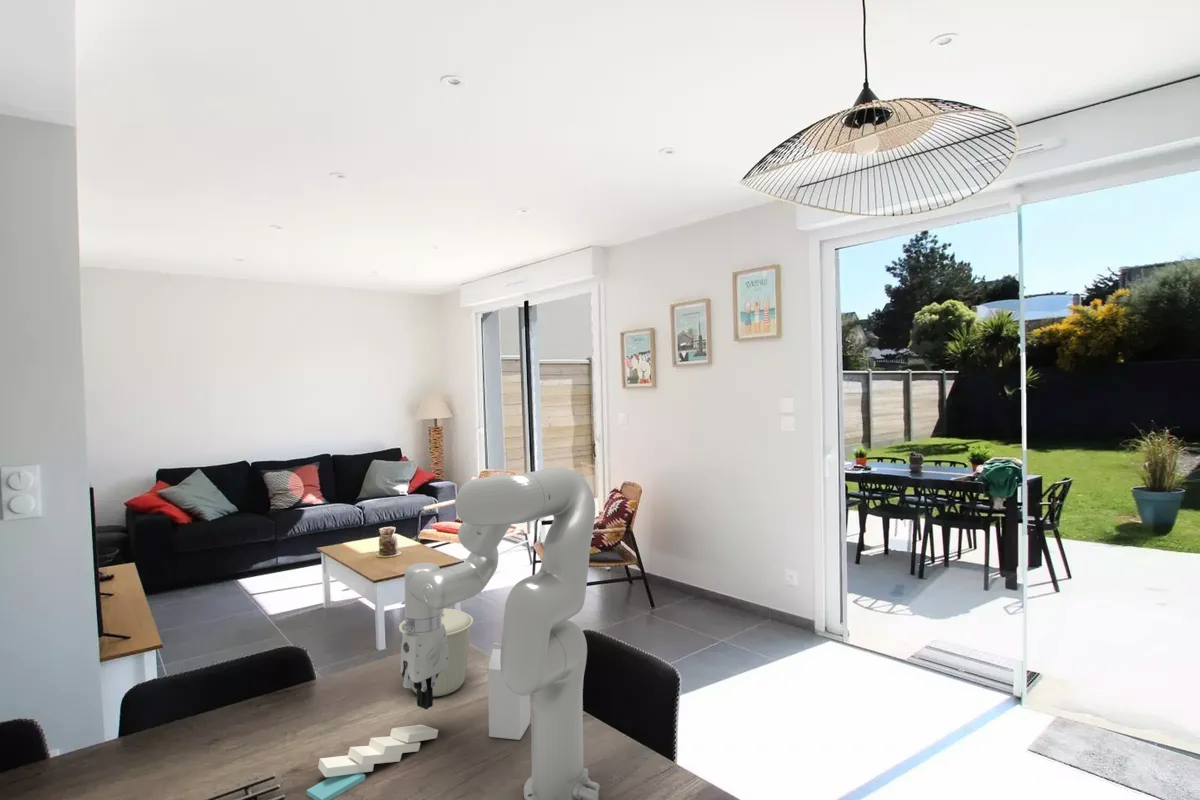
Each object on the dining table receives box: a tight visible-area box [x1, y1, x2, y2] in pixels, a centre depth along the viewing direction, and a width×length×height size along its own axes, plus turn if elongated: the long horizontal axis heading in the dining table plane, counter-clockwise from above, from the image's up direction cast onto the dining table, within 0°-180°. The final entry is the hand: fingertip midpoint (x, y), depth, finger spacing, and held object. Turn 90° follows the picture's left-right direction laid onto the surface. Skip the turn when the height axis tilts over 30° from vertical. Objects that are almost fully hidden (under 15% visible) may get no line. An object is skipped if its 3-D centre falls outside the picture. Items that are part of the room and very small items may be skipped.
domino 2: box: [306, 772, 366, 800], centre depth 122 cm, size 5×2×9 cm
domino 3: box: [347, 745, 403, 765], centre depth 129 cm, size 5×2×9 cm
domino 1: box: [317, 754, 375, 778], centre depth 126 cm, size 5×2×9 cm
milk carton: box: [487, 642, 531, 741], centre depth 142 cm, size 7×7×19 cm
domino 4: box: [367, 735, 421, 755], centre depth 132 cm, size 5×2×9 cm
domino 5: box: [389, 724, 439, 743], centre depth 137 cm, size 5×2×9 cm
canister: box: [398, 607, 474, 698], centre depth 163 cm, size 18×18×21 cm
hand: (424, 706), depth 140 cm, fingers closed
